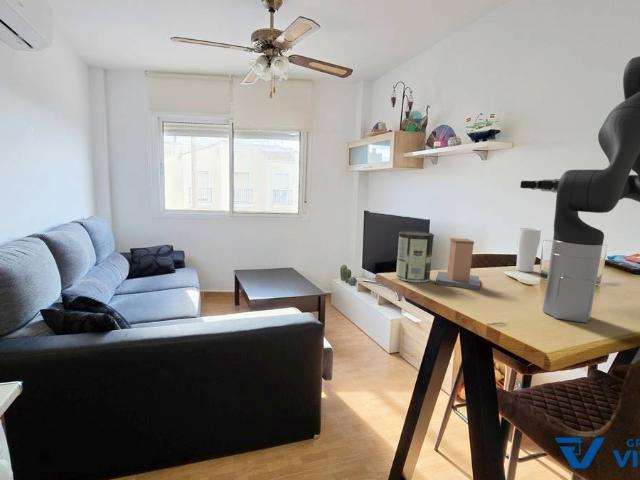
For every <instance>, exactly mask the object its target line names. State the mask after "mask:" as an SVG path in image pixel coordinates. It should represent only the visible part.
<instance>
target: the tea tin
mask: <svg viewBox="0 0 640 480" xmlns="http://www.w3.org/2000/svg"><path fill="white" fill-rule="evenodd" d="M449 240H450V242H449V255H448V264H447V271H446V272H447V276H448V277H449V278H451V279H452V280H466V281H469V279H470V275H471V271H472V270H471V269H472V260H473V251H474V244H475V241H474V240H471V239H469V238H459V237H458V238H456V237H450V239H449Z"/></svg>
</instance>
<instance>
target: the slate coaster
mask: <svg viewBox="0 0 640 480" xmlns="http://www.w3.org/2000/svg"><path fill="white" fill-rule="evenodd" d="M435 277H436V278H435V283H436V285H440V284H442V285H441V286H448V285H449V286H448V287H455V286H457V288H462V287H463V289H470V290H478V291H479V290H481V283H480V277H479V276H477V275H471V274H470V279H469V281H466V280H452V279H451V278H449V277H448V276H447V271H439V270H438V272H437V274H436V276H435ZM435 283H434V284H435Z"/></svg>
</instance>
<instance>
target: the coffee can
mask: <svg viewBox="0 0 640 480" xmlns="http://www.w3.org/2000/svg"><path fill="white" fill-rule="evenodd" d="M434 237H435V234H434V233H431V232H425V231H419V230H417V231H415V230H402V231H399V232H398V246H397V249H398V250H397V258H396V259H397V261H396V271H395V272H396V273H395V277H396V276H397V277H398V278H399V279H398V278H397V279H398V280H400V279H401V280H400V281H403V282H407V281H408V282H407V283H417V282H418V283H419V284H420V283H421V282H422V283H428V282H430V278H431V277H430V276H431V267H432V256H433V246H434V245H433V244H434ZM427 281H428V282H427Z"/></svg>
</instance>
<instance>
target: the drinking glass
mask: <svg viewBox="0 0 640 480" xmlns="http://www.w3.org/2000/svg"><path fill="white" fill-rule="evenodd" d="M541 233H542V230H541V229H539V228H529V227H520V228H519V230H518V233H517V250H516V251H517V252H516V264H515V265H516V266H515V267H516V268H515V269H516V270H517V271H519V272H523V273H524V272H525V273H532V272H533V271H534V266H535V263H536V259H537V254H538V252H539V251H538V250H539V247H540V246H539V245H540V241H541Z"/></svg>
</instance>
